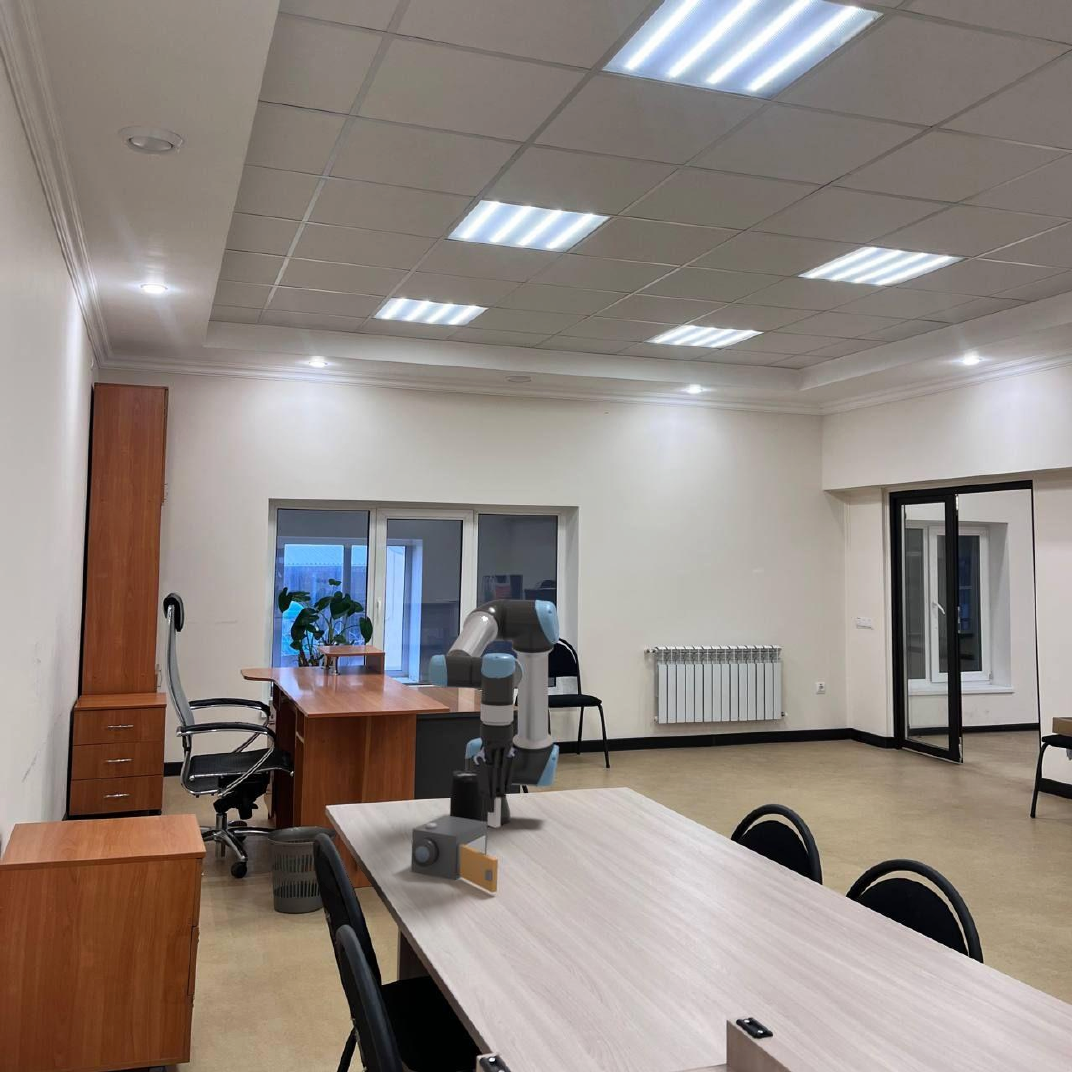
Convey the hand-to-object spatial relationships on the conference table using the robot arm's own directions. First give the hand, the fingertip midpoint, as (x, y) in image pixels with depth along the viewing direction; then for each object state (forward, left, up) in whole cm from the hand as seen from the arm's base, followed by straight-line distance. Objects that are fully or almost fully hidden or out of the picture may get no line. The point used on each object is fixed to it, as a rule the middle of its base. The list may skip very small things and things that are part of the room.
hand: (493, 825), depth 220 cm
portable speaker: (-22, -19, -14) cm, 32 cm away
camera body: (-6, -15, -14) cm, 21 cm away
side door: (+3, -3, -13) cm, 13 cm away
